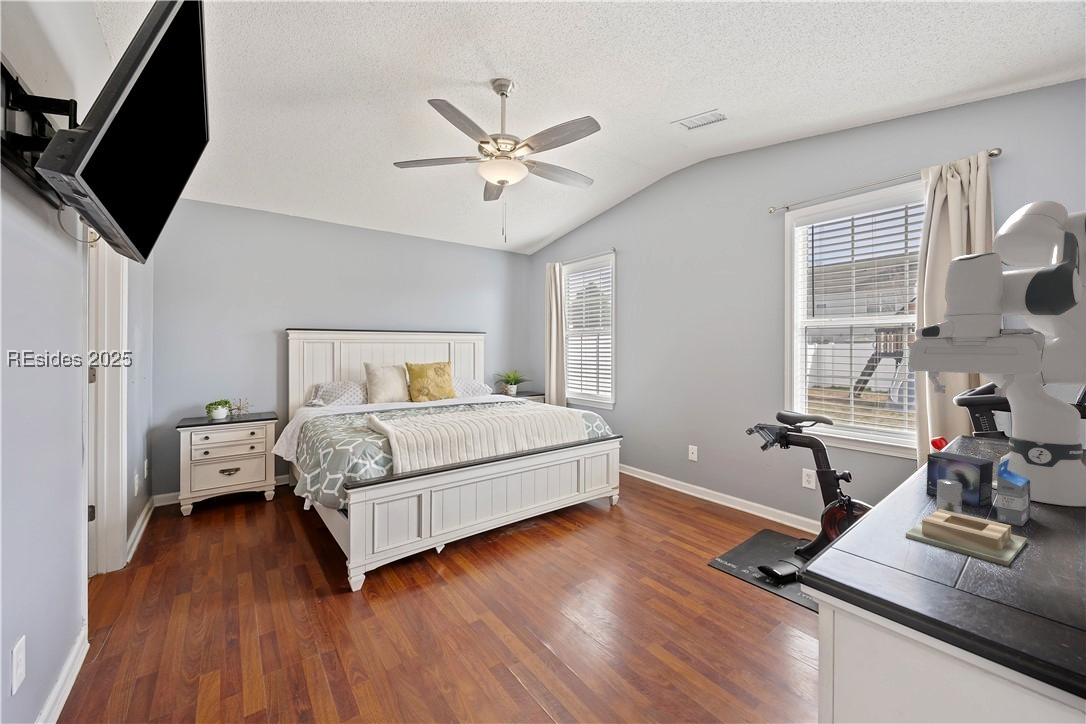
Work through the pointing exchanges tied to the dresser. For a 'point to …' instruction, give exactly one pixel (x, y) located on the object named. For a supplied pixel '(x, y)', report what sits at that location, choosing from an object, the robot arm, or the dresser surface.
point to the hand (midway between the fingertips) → (968, 394)
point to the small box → (962, 476)
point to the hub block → (969, 536)
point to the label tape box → (1012, 496)
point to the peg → (949, 496)
